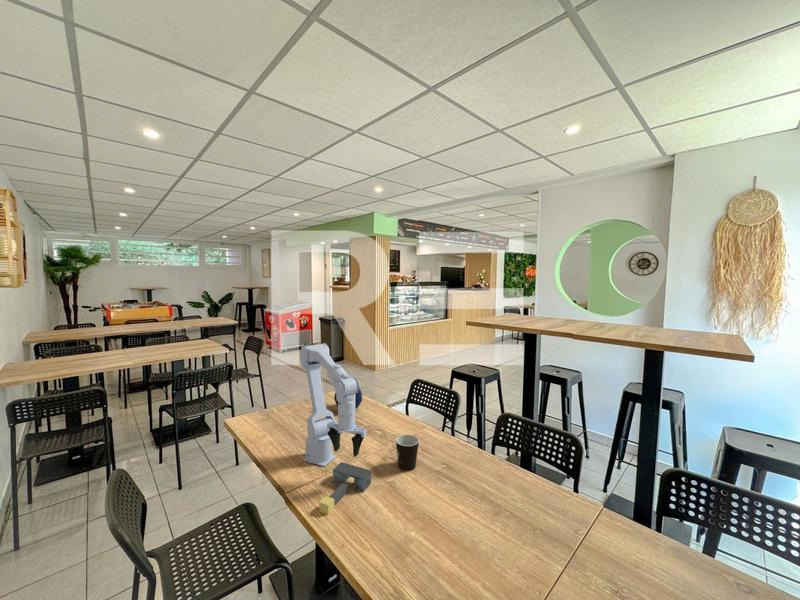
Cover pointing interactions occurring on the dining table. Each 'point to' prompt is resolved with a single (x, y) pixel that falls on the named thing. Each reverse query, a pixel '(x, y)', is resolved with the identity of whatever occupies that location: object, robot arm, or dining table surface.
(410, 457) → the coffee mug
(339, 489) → the plug
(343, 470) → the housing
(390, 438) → the dining table surface
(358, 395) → the decorative orb
